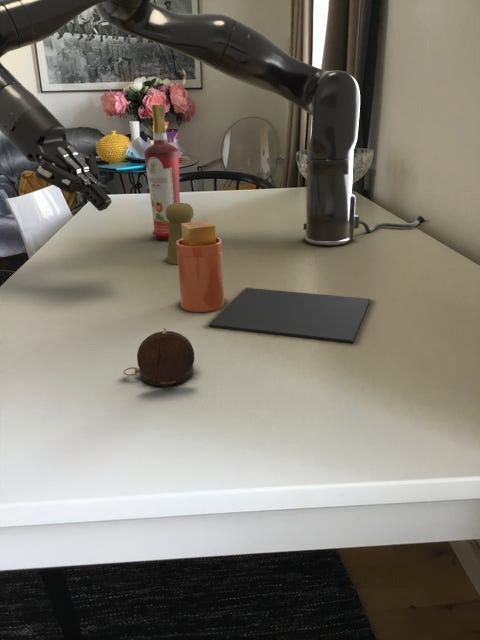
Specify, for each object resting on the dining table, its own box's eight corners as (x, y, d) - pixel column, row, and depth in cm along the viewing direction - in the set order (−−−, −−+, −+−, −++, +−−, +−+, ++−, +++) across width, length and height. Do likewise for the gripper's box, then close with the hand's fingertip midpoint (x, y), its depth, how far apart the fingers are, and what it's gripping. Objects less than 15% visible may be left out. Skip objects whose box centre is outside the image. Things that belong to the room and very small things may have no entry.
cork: (193, 265, 107) (189, 206, 103) (163, 264, 108) (158, 206, 104) (202, 256, 112) (198, 200, 108) (172, 255, 114) (168, 200, 109)
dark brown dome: (190, 360, 69) (186, 304, 67) (197, 391, 62) (193, 330, 59) (124, 366, 68) (117, 310, 66) (123, 399, 61) (115, 337, 58)
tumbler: (215, 294, 91) (213, 233, 88) (230, 308, 86) (227, 243, 82) (175, 300, 89) (171, 238, 85) (187, 315, 83) (183, 249, 80)
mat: (209, 326, 79) (208, 324, 79) (246, 290, 93) (246, 287, 93) (352, 343, 73) (352, 340, 72) (369, 301, 86) (370, 298, 86)
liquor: (145, 240, 126) (132, 106, 115) (162, 232, 132) (151, 104, 121) (175, 242, 123) (164, 105, 112) (190, 234, 129) (181, 103, 119)
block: (208, 246, 87) (206, 220, 85) (216, 252, 83) (215, 225, 82) (182, 249, 85) (180, 223, 84) (190, 255, 82) (188, 228, 80)
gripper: (43, 137, 94) (115, 214, 94) (-16, 145, 82) (68, 232, 83) (65, 102, 90) (140, 182, 91) (7, 105, 78) (94, 197, 79)
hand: (106, 206), depth 87 cm, fingers closed
